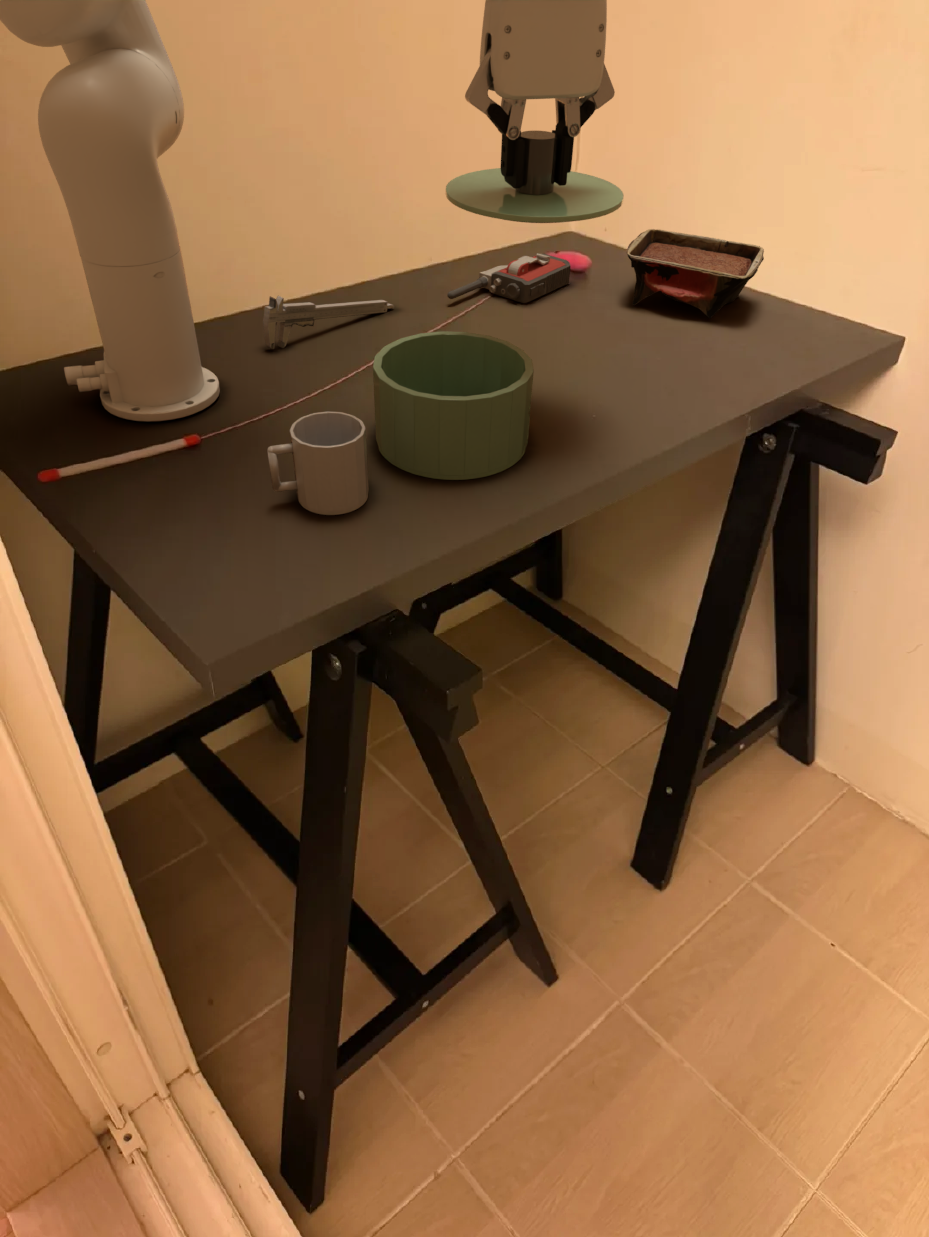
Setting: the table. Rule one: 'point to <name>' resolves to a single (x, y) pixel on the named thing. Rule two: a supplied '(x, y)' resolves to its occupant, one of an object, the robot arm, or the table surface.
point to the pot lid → (535, 189)
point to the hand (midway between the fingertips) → (535, 181)
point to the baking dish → (692, 268)
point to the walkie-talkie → (521, 278)
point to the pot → (452, 404)
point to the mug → (325, 462)
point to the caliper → (310, 315)
